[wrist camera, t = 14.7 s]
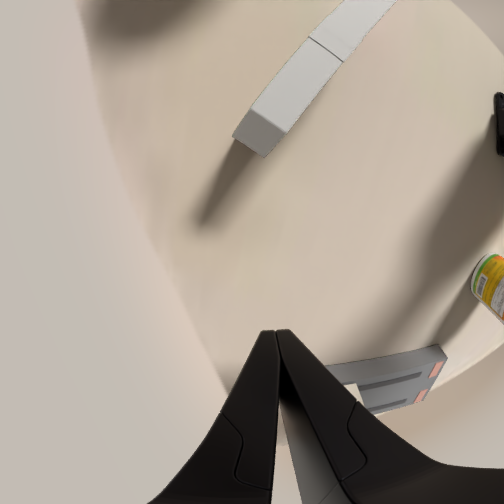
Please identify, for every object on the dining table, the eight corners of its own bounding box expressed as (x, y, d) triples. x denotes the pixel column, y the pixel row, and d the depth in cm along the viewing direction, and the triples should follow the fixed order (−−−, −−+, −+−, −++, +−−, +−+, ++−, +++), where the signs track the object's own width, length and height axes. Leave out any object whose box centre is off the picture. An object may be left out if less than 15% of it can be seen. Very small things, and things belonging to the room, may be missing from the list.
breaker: (356, 383, 23) (366, 412, 19) (349, 399, 24) (358, 427, 20) (336, 386, 23) (345, 416, 19) (331, 402, 24) (338, 431, 20)
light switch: (235, 136, 17) (229, 135, 9) (335, 15, 13) (381, -35, 6) (257, 151, 17) (267, 161, 10) (355, 29, 13) (409, -12, 6)
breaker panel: (438, 344, 25) (448, 358, 23) (416, 387, 28) (423, 400, 26) (300, 368, 25) (304, 388, 23) (294, 410, 28) (296, 428, 26)
